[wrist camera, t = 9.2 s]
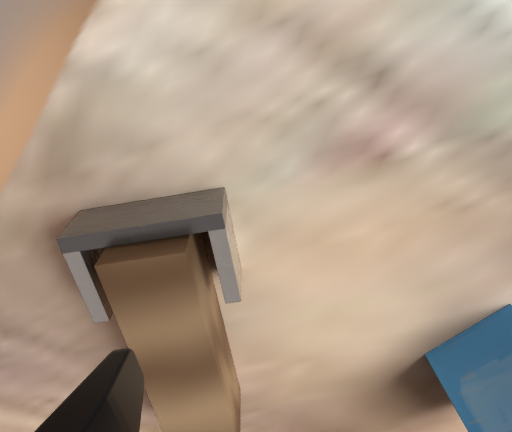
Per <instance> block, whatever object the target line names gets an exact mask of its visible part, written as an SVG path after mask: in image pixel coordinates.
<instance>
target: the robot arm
mask: <svg viewBox="0 0 512 432" xmlns="http://www.w3.org/2000/svg"><path fill="white" fill-rule="evenodd" d="M143 393H144V375H143V372H142V369H141V367H140V364H139V362H138V360H137V357H136V355H135V353H134V351H133V350H132V349H130V348H127V349H120V350H115V351H112V352H111V353H110V354H109V355H108V356H107V357H106V358H105V359H104V360H103V361H102V362H101V363H100V364H99V365H98V366H97V367H96V368H95V369H94V370H93V371H92V372H91V373H90V375H89V376H88V377H87V378H86V379H85V380H84V381H83V382H82V383H81V384H80V385H79V386H78V387H77V388H76V389H75V390H74V391H73V392H72V393H71V394H70V395H69V396H68V397H67V398H66V399H65V400H64V401H63V403H62V404H61V405H60V406H59V407H58V408H57V409H56V410H55V411H54V412H53V413H52V414H51V415H50V416H49V417H48V418H47V419H46V420H45V421H44V422H43V423H42V424H41V425H40V426H39V427H38V428H37V429H36V431H35V432H139V429H140V420H141V411H142V402H143Z"/></svg>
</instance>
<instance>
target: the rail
mask: <svg viewBox="0 0 512 432" xmlns="http://www.w3.org/2000/svg"><path fill="white" fill-rule="evenodd" d="M94 267H95V269H96V272H97V274H98V276H99V279H100V281H101V284H102V286H103V289H104V291H105V293H106V296H107V298H108V301H109V303H110V306H111V308H112V310H113V313H114V315H115V318H116V320H117V322H118V325H119V327H120V330H121V332H122V335H123V337H124V339H125V342H126V344H127V347H128V348H130V349H132V350H133V351H134V353H135V355H136V357H137V360H138V362H139V364H140V367H141V369H142V372H143V375H144V388H145V390H146V393H147V395H148V398H149V400H150V403H151V405H152V407H153V410H154V412H155V415H156V417H157V420H158V422H159V424H160V427H161V429H162V432H240V386H239V382H238V378H237V374H236V370H235V366H234V362H233V358H232V354H231V350H230V346H229V342H228V338H227V334H226V330H225V326H224V322H223V318H222V314H221V310H220V306H219V302H218V298H217V294H216V290H215V286H214V282H213V278H212V273H211V269H210V265H209V261H208V257H207V253H206V249H205V245H204V241H203V237H202V233H194V234H188V235H181V236H175V237H168V238H162V239H155V240H149V241H142V242H136V243H129V244H123V245H117V246H110V247H106V248H105V249H104V251H103V253H102V254H101V256H100V258H99V259H98V261H97V263H96V264H95V266H94Z"/></svg>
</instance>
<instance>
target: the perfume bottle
mask: <svg viewBox="0 0 512 432" xmlns="http://www.w3.org/2000/svg"><path fill="white" fill-rule="evenodd" d="M425 356H426V358H427V359H428V361H429V363H430V365H431V367H432V368H433V370H434V372H435V374H436V375H437V377H438V379H439V381H440V382H441V384H442V386H443V388H444V390H445V391H446V393H447V395H448V397H449V398H450V400H451V402H452V404H453V405H454V407H455V409H456V411H457V413H458V414H459V416H460V418H461V420H462V421H463V423H464V425H465V427H466V428H467V430H468V432H512V305H511V304H509V305H507V306H506V307H504V308H502V309H501V310H499V311H497V312H495V313H494V314H492V315H490V316H489V317H487V318H485V319H484V320H482V321H480V322H479V323H477V324H475V325H473V326H472V327H470V328H468V329H467V330H465V331H463V332H462V333H460V334H458V335H457V336H455V337H453V338H451V339H450V340H448V341H446V342H445V343H443V344H441V345H440V346H438V347H436V348H434V349H433V350H431V351H429V352H428V353H426V354H425Z"/></svg>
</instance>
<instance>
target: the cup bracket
mask: <svg viewBox="0 0 512 432" xmlns="http://www.w3.org/2000/svg"><path fill="white" fill-rule="evenodd" d="M207 231H208V233H209V237H210V241H211V245H212V250H213V254H214V258H215V262H216V266H217V270H218V274H219V279H220V283H221V287H222V291H223V295H224V299H225V303H233V302H240V301H241V265H240V260H239V255H238V250H237V245H236V241H235V236H234V231H233V226H232V221H231V216H230V212H229V207H228V202H227V197H226V192H225V188H218V189H212V190H206V191H199V192H193V193H187V194H180V195H174V196H168V197H162V198H155V199H149V200H143V201H136V202H130V203H124V204H117V205H111V206H105V207H98V208H92V209H86V210H81V211H80V212H79V213H78V214H77V215H76V216H75V218H74V219H73V220H72V221H71V222H70V223H69V225H68V226H67V227H66V228H65V229H64V230H63V231H62V233H61V234H60V235H59V236H58V237H57V238H56V240H57V242H58V245H59V247H60V249H61V251H62V253H63V256H64V258H65V260H66V262H67V265H68V267H69V269H70V271H71V273H72V276H73V278H74V280H75V282H76V284H77V287H78V289H79V291H80V293H81V296H82V298H83V300H84V302H85V304H86V307H87V309H88V311H89V313H90V315H91V318H92V320H93V322H94V323H98V322H104V321H109V320H110V318H111V316H112V313H113V310H112V308H111V306H110V303H109V301H108V298H107V296H106V293H105V291H104V289H103V286H102V284H101V281H100V279H99V276H98V274H97V272H96V269H95V267H94V266H95V264H96V263H97V261H98V259H99V258H100V256H101V254H102V253H103V251H104V249H105V248H106V247H110V246H117V245H123V244H129V243H136V242H142V241H149V240H155V239H162V238H168V237H175V236H181V235H188V234H194V233H201V232H207Z"/></svg>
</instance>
